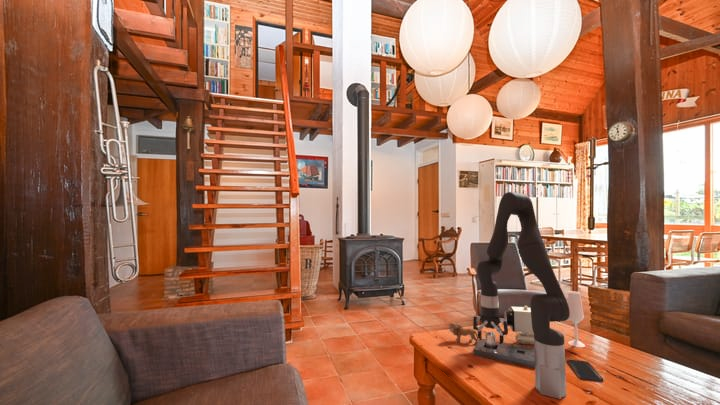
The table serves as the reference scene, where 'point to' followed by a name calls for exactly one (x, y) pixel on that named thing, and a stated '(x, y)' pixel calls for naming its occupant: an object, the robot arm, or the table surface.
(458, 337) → the lion figurine
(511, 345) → the grey board with holes
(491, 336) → the flashlight
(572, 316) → the champagne flute
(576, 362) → the phone
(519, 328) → the security camera
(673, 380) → the table surface
